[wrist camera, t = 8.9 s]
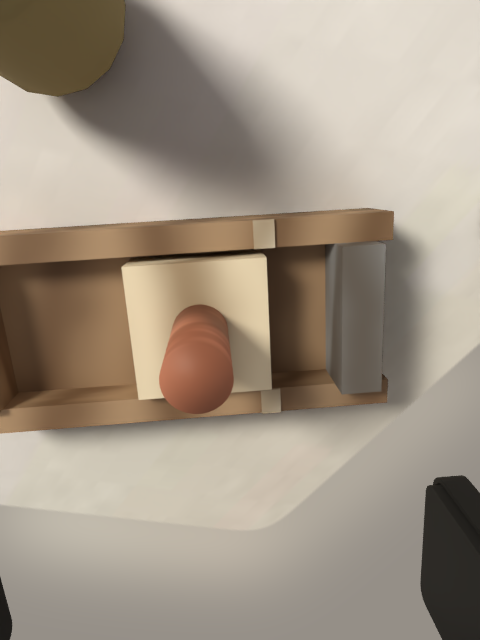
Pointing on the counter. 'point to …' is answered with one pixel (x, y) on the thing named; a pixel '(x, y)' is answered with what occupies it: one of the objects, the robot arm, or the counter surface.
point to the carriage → (199, 327)
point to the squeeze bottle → (59, 42)
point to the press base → (187, 239)
